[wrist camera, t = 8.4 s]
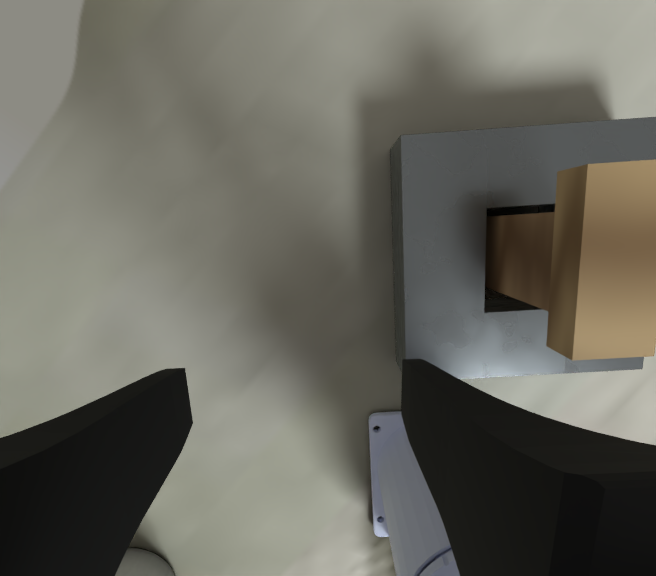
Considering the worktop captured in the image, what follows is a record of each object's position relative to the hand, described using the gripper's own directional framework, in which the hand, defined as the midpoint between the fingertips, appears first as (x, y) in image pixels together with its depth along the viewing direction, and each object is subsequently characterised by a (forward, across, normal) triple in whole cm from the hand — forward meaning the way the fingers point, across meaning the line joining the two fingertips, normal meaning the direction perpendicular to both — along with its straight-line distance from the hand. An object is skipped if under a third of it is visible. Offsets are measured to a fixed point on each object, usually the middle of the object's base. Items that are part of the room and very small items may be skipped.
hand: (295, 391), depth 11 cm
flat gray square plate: (+10, -12, -3) cm, 16 cm away
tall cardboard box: (+10, -12, -3) cm, 16 cm away
